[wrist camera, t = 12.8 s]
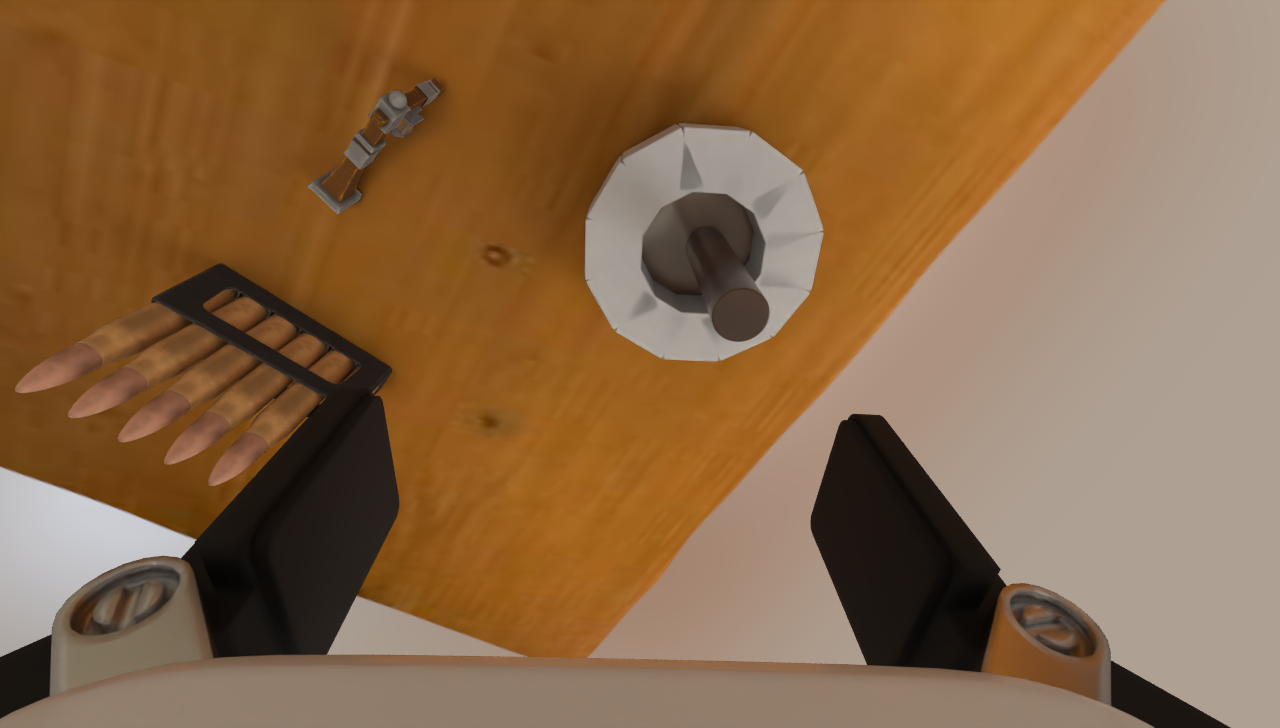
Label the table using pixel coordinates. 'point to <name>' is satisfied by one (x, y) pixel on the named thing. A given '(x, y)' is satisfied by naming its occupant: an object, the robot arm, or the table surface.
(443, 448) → the table surface
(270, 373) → the ammunition clip
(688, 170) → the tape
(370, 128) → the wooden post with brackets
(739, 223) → the stand
